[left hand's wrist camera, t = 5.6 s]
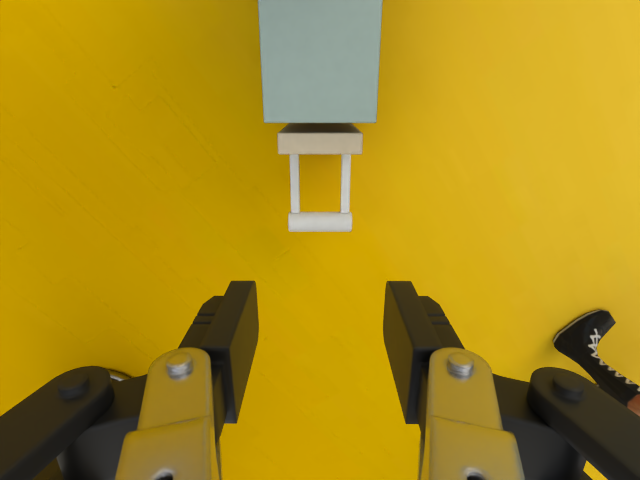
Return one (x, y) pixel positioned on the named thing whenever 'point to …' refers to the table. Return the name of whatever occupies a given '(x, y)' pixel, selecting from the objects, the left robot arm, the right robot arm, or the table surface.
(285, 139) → the drawer
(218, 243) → the table surface
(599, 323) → the figurine
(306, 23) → the cabinet
